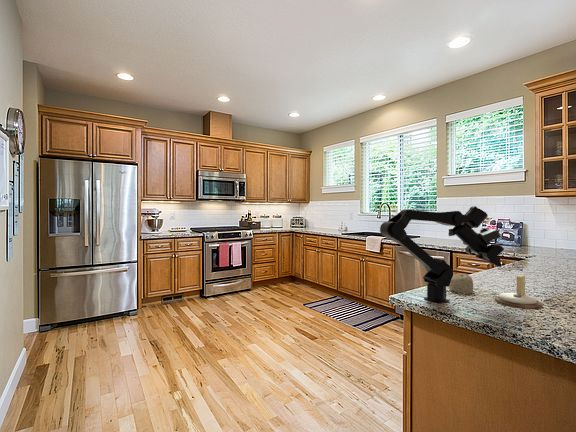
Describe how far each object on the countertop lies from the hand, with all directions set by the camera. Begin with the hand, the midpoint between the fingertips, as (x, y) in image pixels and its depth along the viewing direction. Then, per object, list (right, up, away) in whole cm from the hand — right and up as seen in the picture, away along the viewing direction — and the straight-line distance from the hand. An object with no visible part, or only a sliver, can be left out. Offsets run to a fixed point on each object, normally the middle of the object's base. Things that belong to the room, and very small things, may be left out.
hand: (499, 265), depth 116 cm
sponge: (-6, -13, +15) cm, 21 cm away
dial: (+4, -12, -3) cm, 13 cm away
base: (+4, -13, -3) cm, 14 cm away
